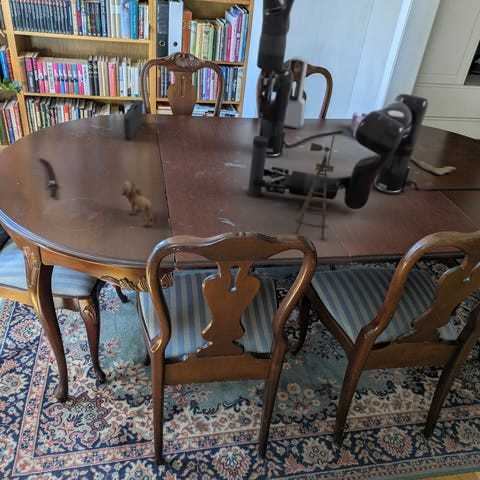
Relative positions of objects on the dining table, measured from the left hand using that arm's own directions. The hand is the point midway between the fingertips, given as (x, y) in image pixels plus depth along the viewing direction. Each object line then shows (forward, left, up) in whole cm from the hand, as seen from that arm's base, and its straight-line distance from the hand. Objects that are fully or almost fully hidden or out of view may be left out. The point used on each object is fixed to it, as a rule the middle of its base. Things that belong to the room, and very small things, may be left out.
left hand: (264, 108), depth 139 cm
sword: (+56, -37, -29) cm, 73 cm away
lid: (0, 0, -10) cm, 10 cm away
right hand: (0, 0, -22) cm, 22 cm away
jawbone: (-82, +9, -29) cm, 87 cm away
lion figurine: (+40, -2, -29) cm, 49 cm away
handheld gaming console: (+14, -67, -29) cm, 74 cm away
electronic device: (-55, -50, -29) cm, 80 cm away
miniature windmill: (-2, +26, -29) cm, 39 cm away
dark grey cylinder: (0, 0, -29) cm, 29 cm away
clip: (-82, -28, -29) cm, 92 cm away
